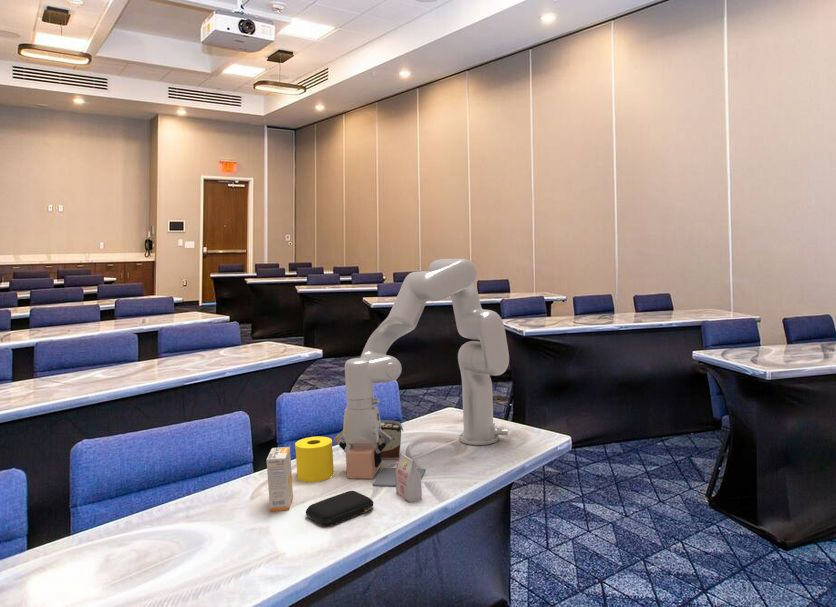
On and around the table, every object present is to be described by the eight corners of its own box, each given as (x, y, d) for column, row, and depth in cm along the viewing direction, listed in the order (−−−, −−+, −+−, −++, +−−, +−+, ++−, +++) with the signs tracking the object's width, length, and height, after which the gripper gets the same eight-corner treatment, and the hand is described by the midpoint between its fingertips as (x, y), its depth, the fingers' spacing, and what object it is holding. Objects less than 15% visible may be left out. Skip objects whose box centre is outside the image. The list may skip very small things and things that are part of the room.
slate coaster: (425, 470, 164) (425, 468, 164) (417, 487, 152) (417, 485, 152) (383, 469, 166) (383, 467, 166) (372, 486, 154) (372, 484, 154)
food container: (406, 451, 180) (405, 419, 179) (404, 458, 174) (403, 425, 173) (367, 451, 181) (365, 420, 180) (363, 458, 175) (361, 426, 174)
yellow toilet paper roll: (302, 485, 157) (300, 450, 156) (293, 473, 166) (291, 440, 165) (338, 477, 161) (336, 443, 160) (327, 466, 170) (325, 434, 169)
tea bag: (409, 489, 151) (407, 451, 150) (421, 499, 145) (420, 459, 144) (396, 493, 149) (394, 454, 148) (408, 502, 143) (406, 462, 142)
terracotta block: (380, 465, 169) (379, 441, 168) (372, 478, 159) (370, 453, 158) (357, 464, 170) (355, 441, 169) (347, 478, 160) (345, 453, 160)
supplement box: (274, 497, 149) (271, 447, 148) (293, 496, 150) (290, 446, 149) (269, 512, 141) (265, 458, 140) (289, 510, 141) (286, 457, 140)
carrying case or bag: (327, 532, 130) (380, 511, 140) (327, 519, 130) (379, 498, 139) (302, 517, 138) (353, 498, 148) (301, 505, 138) (353, 486, 147)
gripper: (394, 399, 165) (397, 461, 166) (334, 399, 168) (338, 460, 169) (388, 406, 158) (391, 471, 159) (326, 406, 161) (330, 470, 162)
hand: (364, 465), depth 164 cm, fingers closed on terracotta block, 7 cm apart
